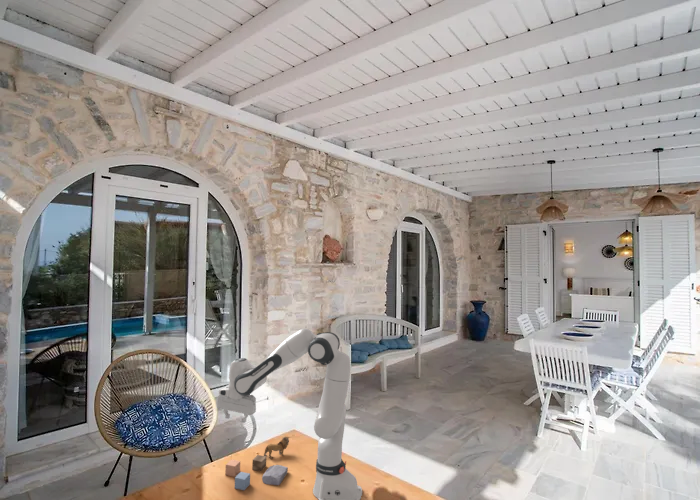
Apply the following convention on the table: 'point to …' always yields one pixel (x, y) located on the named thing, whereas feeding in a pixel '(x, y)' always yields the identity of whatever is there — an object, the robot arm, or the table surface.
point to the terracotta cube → (232, 468)
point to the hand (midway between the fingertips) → (235, 420)
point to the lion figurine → (277, 446)
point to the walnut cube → (259, 463)
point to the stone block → (274, 474)
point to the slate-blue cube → (242, 481)
